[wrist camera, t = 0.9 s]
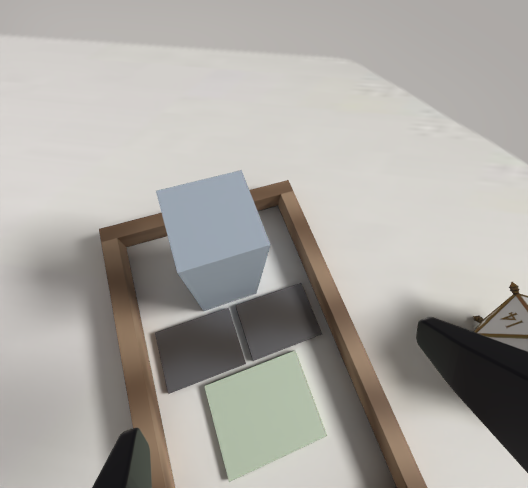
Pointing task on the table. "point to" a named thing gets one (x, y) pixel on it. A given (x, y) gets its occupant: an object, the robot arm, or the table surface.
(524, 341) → the game die
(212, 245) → the slate-blue block
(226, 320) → the frame
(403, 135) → the table surface
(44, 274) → the table surface
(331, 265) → the table surface
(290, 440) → the pad
